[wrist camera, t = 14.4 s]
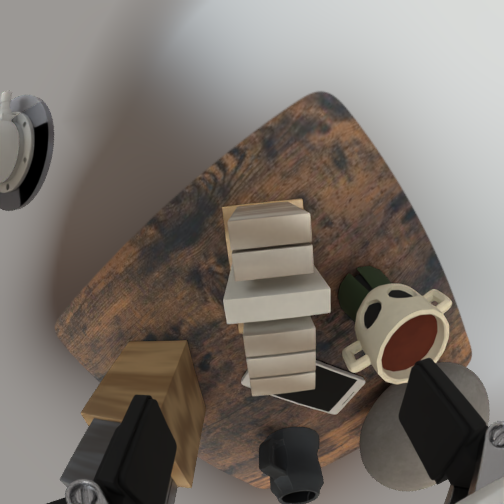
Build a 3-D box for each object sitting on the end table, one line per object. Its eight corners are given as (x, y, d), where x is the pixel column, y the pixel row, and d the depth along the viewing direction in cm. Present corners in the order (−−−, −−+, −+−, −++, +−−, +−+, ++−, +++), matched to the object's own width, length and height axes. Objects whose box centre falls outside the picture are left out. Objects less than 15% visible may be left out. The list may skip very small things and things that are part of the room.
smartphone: (267, 339, 32) (268, 344, 31) (364, 377, 34) (366, 381, 33) (240, 380, 33) (240, 384, 33) (334, 411, 35) (336, 415, 34)
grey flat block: (233, 256, 29) (223, 300, 18) (302, 249, 28) (330, 288, 18) (235, 273, 29) (227, 324, 18) (303, 266, 29) (330, 312, 18)
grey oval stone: (357, 425, 36) (390, 517, 18) (336, 408, 35) (369, 513, 17) (449, 354, 33) (515, 427, 15) (436, 329, 32) (515, 407, 14)
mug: (329, 441, 37) (342, 493, 26) (285, 462, 39) (290, 512, 28) (287, 410, 35) (296, 472, 24) (239, 434, 36) (236, 493, 26)
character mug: (387, 240, 29) (458, 275, 17) (407, 288, 31) (470, 338, 18) (307, 291, 31) (339, 358, 18) (334, 336, 32) (369, 409, 19)
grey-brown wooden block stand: (222, 206, 28) (202, 222, 17) (301, 198, 28) (333, 209, 17) (239, 329, 32) (233, 400, 20) (308, 321, 32) (333, 389, 20)
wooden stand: (129, 340, 32) (44, 471, 11) (187, 339, 32) (129, 500, 11) (154, 407, 35) (110, 528, 14) (206, 408, 35) (182, 545, 14)
